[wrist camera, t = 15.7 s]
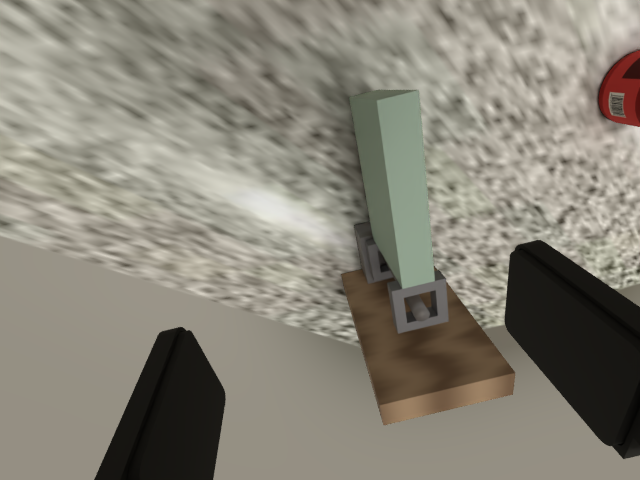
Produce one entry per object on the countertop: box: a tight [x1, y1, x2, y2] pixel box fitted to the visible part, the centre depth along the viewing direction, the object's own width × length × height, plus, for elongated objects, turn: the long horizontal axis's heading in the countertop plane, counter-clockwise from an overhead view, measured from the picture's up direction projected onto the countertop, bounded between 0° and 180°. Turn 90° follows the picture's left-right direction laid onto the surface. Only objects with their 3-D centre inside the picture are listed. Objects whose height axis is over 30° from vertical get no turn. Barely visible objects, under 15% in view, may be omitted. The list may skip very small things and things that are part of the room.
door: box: [349, 90, 449, 334], centre depth 32 cm, size 5×21×11 cm, turn 12°
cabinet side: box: [341, 222, 515, 425], centre depth 36 cm, size 12×10×20 cm
